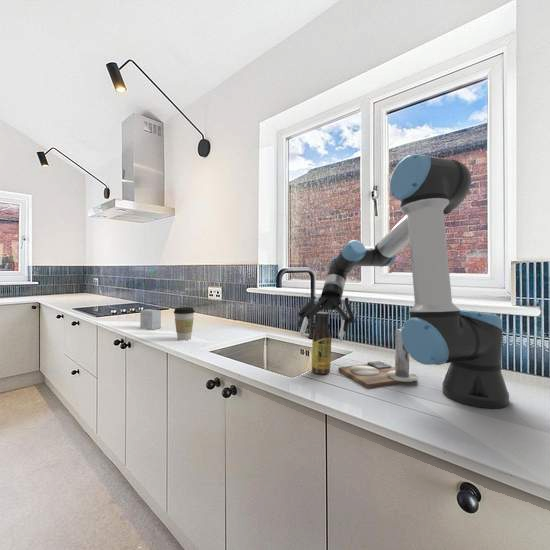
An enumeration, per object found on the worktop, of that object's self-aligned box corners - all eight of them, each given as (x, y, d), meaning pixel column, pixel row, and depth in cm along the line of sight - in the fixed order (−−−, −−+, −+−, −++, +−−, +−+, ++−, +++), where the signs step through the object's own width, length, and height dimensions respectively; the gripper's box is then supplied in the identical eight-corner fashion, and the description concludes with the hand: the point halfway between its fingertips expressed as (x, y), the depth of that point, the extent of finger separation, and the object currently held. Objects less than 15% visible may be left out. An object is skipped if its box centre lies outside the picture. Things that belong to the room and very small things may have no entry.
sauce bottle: (318, 376, 99) (319, 314, 98) (307, 370, 104) (308, 312, 104) (335, 373, 102) (335, 313, 101) (323, 367, 107) (324, 310, 107)
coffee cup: (197, 339, 149) (197, 308, 149) (177, 342, 143) (177, 310, 143) (190, 336, 157) (190, 306, 157) (171, 338, 152) (171, 308, 151)
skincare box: (161, 328, 178) (161, 310, 178) (151, 330, 172) (151, 311, 172) (149, 326, 183) (149, 308, 183) (139, 328, 178) (139, 310, 177)
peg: (412, 376, 94) (412, 331, 94) (401, 378, 93) (401, 331, 93) (402, 372, 98) (403, 328, 98) (392, 373, 97) (392, 329, 96)
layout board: (424, 383, 93) (424, 377, 93) (373, 391, 87) (373, 384, 87) (384, 365, 110) (384, 359, 110) (338, 370, 104) (338, 365, 104)
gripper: (368, 297, 114) (359, 346, 101) (304, 294, 125) (289, 338, 112) (365, 283, 109) (356, 333, 96) (300, 281, 120) (283, 326, 107)
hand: (320, 336), depth 104 cm, fingers open, 13 cm apart
